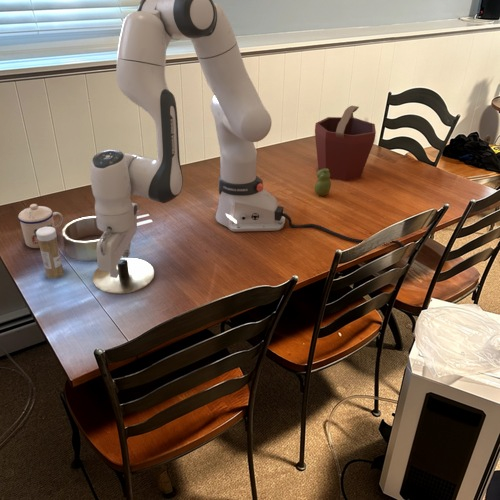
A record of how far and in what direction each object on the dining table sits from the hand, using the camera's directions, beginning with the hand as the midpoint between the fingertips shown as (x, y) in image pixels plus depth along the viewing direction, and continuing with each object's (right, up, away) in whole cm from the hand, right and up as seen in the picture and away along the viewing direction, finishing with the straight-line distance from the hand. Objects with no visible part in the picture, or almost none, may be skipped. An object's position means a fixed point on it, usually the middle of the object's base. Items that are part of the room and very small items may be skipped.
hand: (120, 265), depth 125 cm
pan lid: (0, -3, +2) cm, 3 cm away
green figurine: (+59, +23, +48) cm, 80 cm away
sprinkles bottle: (-18, -3, +2) cm, 18 cm away
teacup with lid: (-26, +7, +17) cm, 32 cm away
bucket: (+69, +35, +67) cm, 102 cm away
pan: (-12, +5, +14) cm, 18 cm away
